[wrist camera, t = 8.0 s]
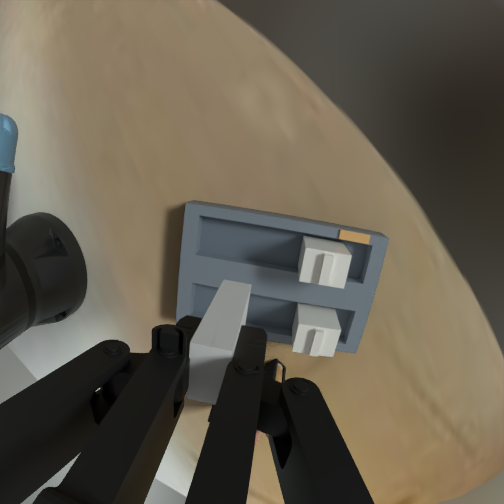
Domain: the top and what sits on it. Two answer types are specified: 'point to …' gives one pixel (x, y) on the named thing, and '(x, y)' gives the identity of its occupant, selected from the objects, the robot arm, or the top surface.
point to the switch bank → (274, 268)
